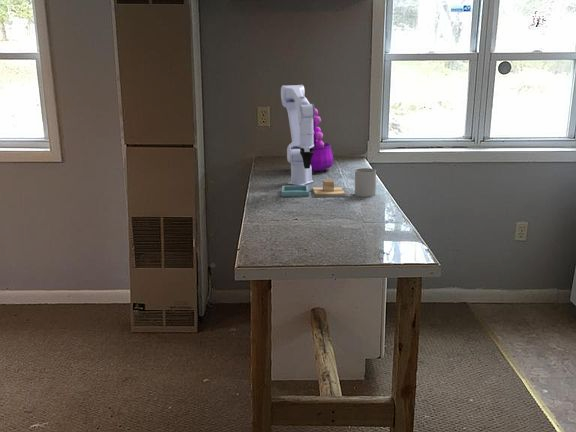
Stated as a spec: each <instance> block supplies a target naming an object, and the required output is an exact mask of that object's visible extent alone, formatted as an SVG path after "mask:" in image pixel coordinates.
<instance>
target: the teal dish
mask: <svg viewBox="0 0 576 432" xmlns="http://www.w3.org/2000/svg"><path fill="white" fill-rule="evenodd" d="M281 197H282V198H286V197H287V198H293V197H295V198H296V197H297V198H298V197H310V189H309V185H308V184H306V185H303V186H300V185H282V186H281Z"/></svg>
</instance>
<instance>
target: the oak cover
mask: <svg viewBox="0 0 576 432" xmlns="http://www.w3.org/2000/svg"><path fill="white" fill-rule="evenodd" d="M312 188H313V191H314V194H315V196H333V195H345V192H344V191H343V189H342V188H343V187H342V186H335V181H334V180H333V179H322V186H314V187H313V186H312Z"/></svg>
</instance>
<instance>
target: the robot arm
mask: <svg viewBox="0 0 576 432" xmlns="http://www.w3.org/2000/svg"><path fill="white" fill-rule="evenodd" d="M305 91H306V90H305V86H304V85H303V84H297V85H295V84H294V85H293V84H292V85H289V84H288V85H283V84H282V86H281V88H280V98H281V104H282V106H283V108H286V111H287V115H288V122H289V129H290V137H291V143H289V144H288V145H287V148H286V159H287V162H288V163H289V164H290V174H291V175H290V176H291V177H290V181H289V182H287V185H292V186H307V185H308V184H312V183H314V180H313V177H312V176H313V171H312V167H311V165H310V164H311V158H312V156H313V153H314V152H312V151H313V148H312V147H314V140H313V118H314V117H315V104H314V103H310V101H309V100H308V99H307V97H306V96H305V95H306V94H305Z"/></svg>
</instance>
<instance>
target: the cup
mask: <svg viewBox="0 0 576 432" xmlns="http://www.w3.org/2000/svg"><path fill="white" fill-rule="evenodd" d="M354 178H355V179H354V195H355V196H356V197H363V198H364V197H365V198H366V197H368V198H369V196H370V197H374V196H376V187H377V186H376V183H377V169H375V168H370V167H369V168H368V167H362V168H356V169H355V170H354Z"/></svg>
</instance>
